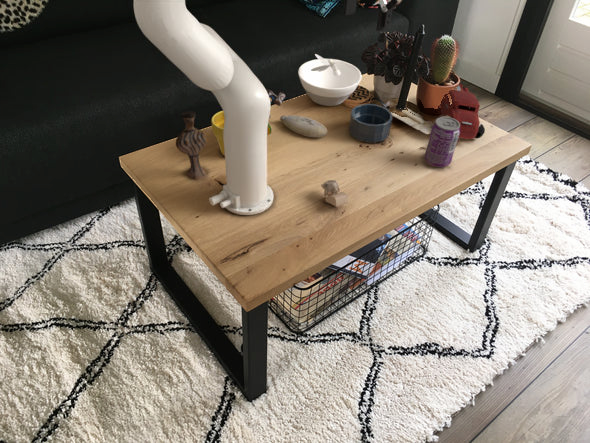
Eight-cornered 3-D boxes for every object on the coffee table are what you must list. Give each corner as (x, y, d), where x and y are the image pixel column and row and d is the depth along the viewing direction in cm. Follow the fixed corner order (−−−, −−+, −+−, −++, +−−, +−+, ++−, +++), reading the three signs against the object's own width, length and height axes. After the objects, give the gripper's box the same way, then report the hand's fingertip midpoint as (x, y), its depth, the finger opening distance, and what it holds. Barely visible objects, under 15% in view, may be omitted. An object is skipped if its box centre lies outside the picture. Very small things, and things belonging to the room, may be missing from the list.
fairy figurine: (344, 68, 148) (335, 51, 151) (323, 70, 146) (314, 53, 149) (338, 83, 153) (330, 66, 156) (318, 85, 151) (309, 69, 154)
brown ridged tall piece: (182, 182, 125) (173, 119, 113) (178, 170, 129) (168, 108, 116) (211, 176, 127) (205, 114, 115) (206, 165, 131) (200, 103, 118)
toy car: (464, 101, 162) (476, 72, 155) (485, 150, 141) (500, 119, 135) (420, 93, 161) (431, 64, 154) (435, 141, 140) (448, 110, 134)
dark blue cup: (368, 148, 139) (372, 130, 135) (340, 130, 145) (342, 112, 141) (397, 135, 145) (400, 116, 141) (368, 117, 151) (371, 99, 147)
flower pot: (240, 135, 141) (239, 104, 134) (259, 154, 135) (259, 122, 128) (207, 146, 136) (204, 115, 130) (225, 166, 130) (223, 134, 124)
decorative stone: (285, 117, 149) (285, 107, 147) (331, 133, 144) (333, 123, 142) (274, 127, 145) (274, 116, 143) (322, 143, 140) (322, 133, 138)
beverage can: (448, 154, 138) (459, 116, 130) (451, 170, 133) (464, 131, 125) (422, 152, 139) (432, 114, 131) (425, 167, 134) (435, 129, 125)
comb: (425, 139, 142) (444, 133, 149) (428, 131, 141) (447, 126, 147) (386, 116, 150) (405, 111, 156) (388, 109, 148) (408, 104, 155)
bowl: (313, 76, 168) (315, 53, 163) (367, 92, 162) (371, 68, 157) (286, 102, 156) (287, 77, 150) (343, 120, 150) (346, 95, 144)
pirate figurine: (220, 99, 132) (255, 63, 137) (227, 128, 143) (260, 93, 148) (262, 124, 128) (296, 86, 133) (266, 151, 140) (297, 115, 145)
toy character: (333, 199, 126) (330, 176, 124) (350, 206, 119) (347, 183, 117) (319, 203, 125) (316, 180, 122) (335, 211, 118) (332, 187, 115)
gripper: (330, -80, 94) (323, 12, 106) (399, -58, 85) (383, 40, 97) (358, -85, 98) (349, 5, 110) (427, -64, 89) (409, 31, 100)
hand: (365, 21), depth 103 cm, fingers open, 9 cm apart
